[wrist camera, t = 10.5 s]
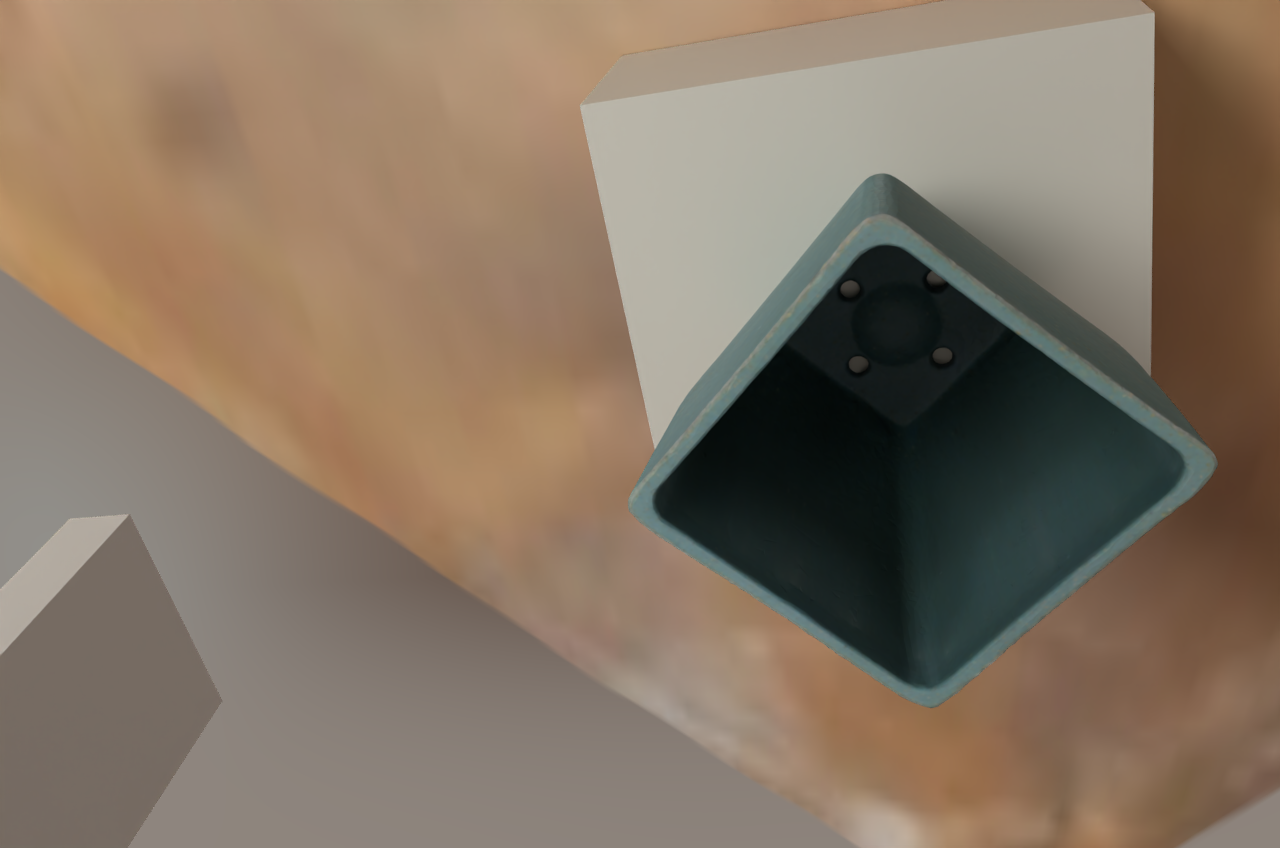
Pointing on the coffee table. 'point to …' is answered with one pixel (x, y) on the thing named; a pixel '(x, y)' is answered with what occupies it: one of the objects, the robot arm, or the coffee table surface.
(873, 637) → the flower pot
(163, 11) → the coffee table surface
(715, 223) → the stone slab
